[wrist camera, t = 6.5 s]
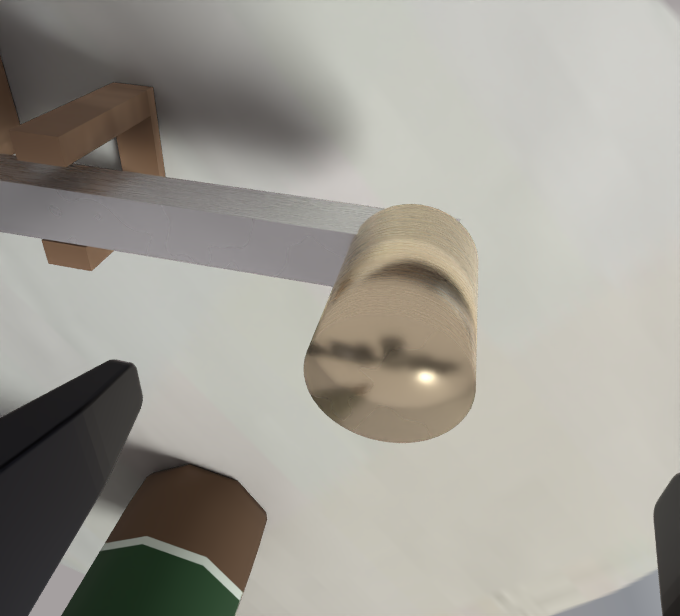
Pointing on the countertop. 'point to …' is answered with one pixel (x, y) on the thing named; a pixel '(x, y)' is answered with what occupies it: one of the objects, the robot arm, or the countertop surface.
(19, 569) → the robot arm
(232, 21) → the countertop surface
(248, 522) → the beer bottle
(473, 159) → the countertop surface
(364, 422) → the rod
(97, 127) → the block
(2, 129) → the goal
